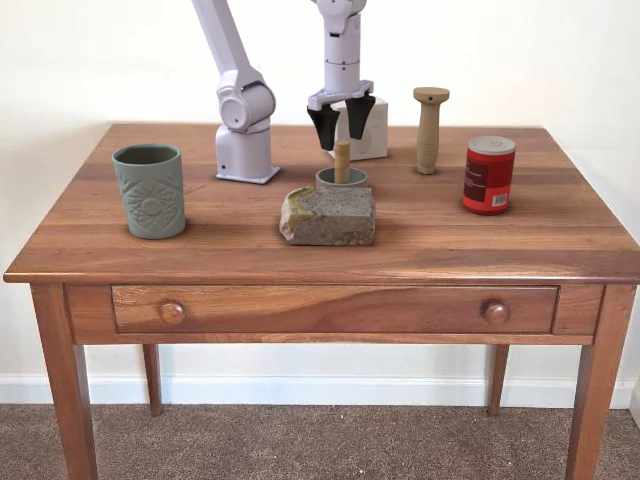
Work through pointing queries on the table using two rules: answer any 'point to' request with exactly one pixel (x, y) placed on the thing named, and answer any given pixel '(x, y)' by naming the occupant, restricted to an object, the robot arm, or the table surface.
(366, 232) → the geological specimen
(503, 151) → the canned food
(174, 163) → the drinking glass
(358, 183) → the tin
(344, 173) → the stick
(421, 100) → the handle
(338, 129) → the cosmetics box
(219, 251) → the table surface
